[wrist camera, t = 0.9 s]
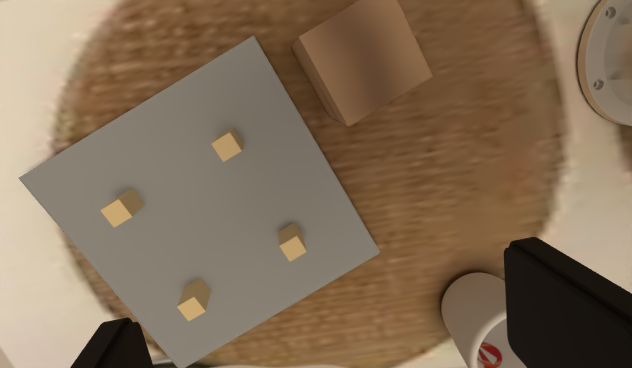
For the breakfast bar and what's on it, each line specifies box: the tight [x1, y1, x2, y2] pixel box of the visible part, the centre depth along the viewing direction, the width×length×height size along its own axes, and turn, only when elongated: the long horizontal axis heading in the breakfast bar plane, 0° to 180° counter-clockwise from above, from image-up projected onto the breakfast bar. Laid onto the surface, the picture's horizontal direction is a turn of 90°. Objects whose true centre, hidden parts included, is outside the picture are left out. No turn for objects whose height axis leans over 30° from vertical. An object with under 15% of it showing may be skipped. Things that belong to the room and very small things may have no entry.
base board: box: [19, 35, 380, 368], centre depth 31 cm, size 20×20×4 cm
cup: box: [441, 273, 527, 368], centre depth 35 cm, size 11×8×8 cm
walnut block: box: [291, 0, 433, 127], centre depth 28 cm, size 6×6×8 cm
